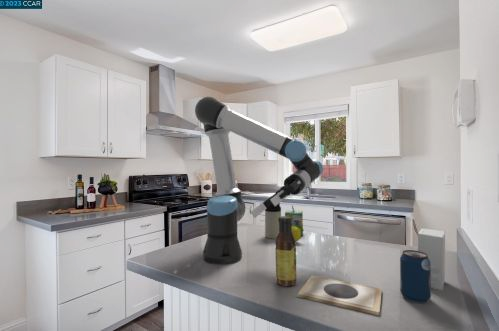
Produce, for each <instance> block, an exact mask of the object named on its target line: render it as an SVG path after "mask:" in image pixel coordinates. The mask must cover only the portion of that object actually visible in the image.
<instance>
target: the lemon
mask: <svg viewBox="0 0 499 331" xmlns="http://www.w3.org/2000/svg"><path fill="white" fill-rule="evenodd" d="M293 224H294V223H291V226H292V225H293ZM296 226H297V227H296ZM296 226H294V227H292V228H291V229H292V233H293V236H294V239H295V242H296V243H297V242H298V241H300V240H301V238H302V235H301V232H300V230H302V231H303V232H304V227H303V228H302V227H301V226H300V225H296Z"/></svg>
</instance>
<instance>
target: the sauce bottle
mask: <svg viewBox="0 0 499 331" xmlns="http://www.w3.org/2000/svg"><path fill="white" fill-rule="evenodd" d="M291 222H292V218H291V217H288V216H285V215H284V216H283V215H281V217H279V231H280V232H279V234H278V236H277V238H276V239H275V278H276V283H277V284H278V285H280V286H283V287H291V286H294V285H296V284H297V242H295V239H294V236H293V233H292V229H291Z"/></svg>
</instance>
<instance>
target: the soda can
mask: <svg viewBox="0 0 499 331" xmlns="http://www.w3.org/2000/svg"><path fill="white" fill-rule="evenodd" d="M399 262H400V263H399V264H400V265H399V267H400V268H399V269H400V270H399V272H400V273H399V274H400V275H399V276H400V277H399V278H400V279H399V281H400V282H399V283H400V284H399V287H400V288H399V289H400V293H401V295H402V296H403V298H404V299H406V300H407V301H409V302H412V303H416V304H426V303H428V301H429V300H430V299H431V298H432V295H431V294H432V292H431V290H432V288H431V272H430V260H429V258H428V255H427V254H426V253H423V252H420V251H418V250H413V249H405V250H403V251H402V254H401V256H400V259H399Z"/></svg>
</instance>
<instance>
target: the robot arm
mask: <svg viewBox="0 0 499 331" xmlns="http://www.w3.org/2000/svg"><path fill="white" fill-rule="evenodd" d="M194 114H195V116H196V119H197V120H198V122H200V123H201V124H203V130H204V135H206V136H207V137H208V139H209V145H210V146H209V147H210V150H211V157H212V158H211V159H212V164H213V170H214V177H215V182H216V188H217V191H216V192H215V194H214V196H213V197H211V198H208V200H207V206H206V212H207V213H206V219H207V220H206V223H207V224H206V229H207V232H206V233H207V238H206V241H205V245H204V248H203V251H202V260H203V261H204V262H207V263H210V264H213V265H226V264H232V263H235V262H239V261H240V260H242V258H243V251H242V247H241V245H240V242H239V238H238V222H239V221H241V220H242V219H243V217H244V215H245V212H246V203H245V201H244V199H243V196H242V190H240V188H238V187H237V180H236V175H235V174H236V173H235V168H234V167H235V166H234V163H233V162H234V161H233V156H232V150H231V143H230V137H229V134H230V132H231V133H233V134H236V135H238V136H240V137H241V138H244V139H246V140H248V141H250V142H252V143H254V144H257V145H258V146H261V147H263V148H265V149H267V150H269V151H271V152H273V153H276V154H277V155H280V156H281V157H283V158H286V159H288V160H289V161H290V163H291V164H292V165H293V167H295V169H296V171H294V172H292V174H290V175H289V176H287V177H286V178H284V180H283V186H281V187H280V188H279V189H278V190H277V191H275V193H273V195H271V196H269V198H267V199H266V200H264V201H263V202H261V203H259V205H257V206H256V207H255V208H253V209H252V210H251V211H250V214H251V215H252V216H253V218H255V219H256V218H257V217H258V216H259V215H261V214H262V213H264V212H265V210H266V211H267V207H269V206H270V205H272V204H273V205H274V206H276V205H278V204H279V203H280V204H281V202H282V201H284V200H286V198H288V197H289V196H290V195H293V196H294V195H295V196H297V195H299V194H300V193H301V192H302V191H303V190H304V189H308V188H309V187H308V186H310V185H311V184H312V183H313V182H314V181H315V180H317V179H318V178H319V177H320V176H321V175H322V174H323V171H324V166H323V164H322V162H320V161H319V160H318V159H312V158H311V157H310V155H309V154H308V152H307V147H306V145H305V144H304V143H303V141H301V140H299V139H297V138H295V137H291V136H288V135H285V134H284V133H281V132H279V131H276V130H275V129H273V128H271V127H268V126H266V125H264V124H262V123H260V122H258V121H255V120H253V119H251V118H249V117H247V116H244V115H243V114H240V113H238V112H236V111H234V110H232V109H230V106H229V105H227V104H225V103H224V102H221V101H220V100H218V99H217V98H216V97H212V96H205V97H202V98H201V99H199V100H198V101H197V103H196V105H195V107H194Z"/></svg>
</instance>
